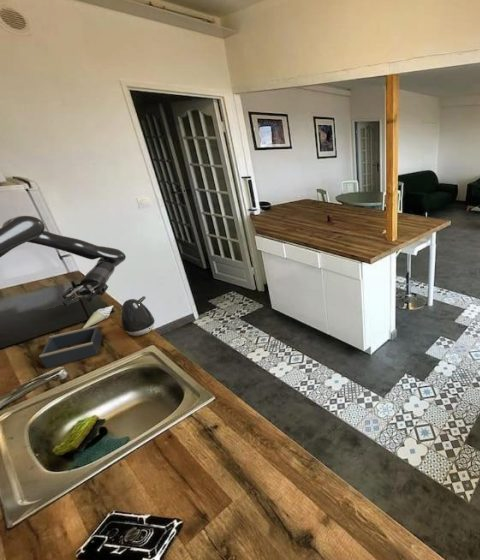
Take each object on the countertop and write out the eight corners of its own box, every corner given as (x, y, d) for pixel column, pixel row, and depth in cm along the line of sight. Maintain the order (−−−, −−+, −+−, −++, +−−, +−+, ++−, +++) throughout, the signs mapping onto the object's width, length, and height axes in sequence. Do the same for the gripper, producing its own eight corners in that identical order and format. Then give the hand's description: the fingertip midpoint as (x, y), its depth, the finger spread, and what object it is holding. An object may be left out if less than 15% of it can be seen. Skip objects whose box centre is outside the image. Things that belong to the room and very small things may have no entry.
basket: (46, 368, 107) (39, 356, 105) (55, 347, 117) (49, 336, 115) (97, 354, 114) (91, 343, 112) (102, 336, 124) (97, 325, 122)
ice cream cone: (91, 334, 128) (121, 310, 140) (84, 325, 125) (115, 301, 137) (80, 332, 129) (110, 308, 140) (73, 323, 126) (105, 300, 137)
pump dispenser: (163, 328, 130) (152, 296, 123) (136, 342, 121) (122, 308, 115) (148, 322, 134) (136, 291, 127) (121, 335, 125) (107, 302, 119)
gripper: (72, 275, 135) (50, 299, 123) (108, 269, 138) (90, 292, 125) (83, 288, 140) (63, 312, 128) (118, 282, 143) (101, 306, 130)
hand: (76, 302), depth 127 cm, fingers open, 8 cm apart
